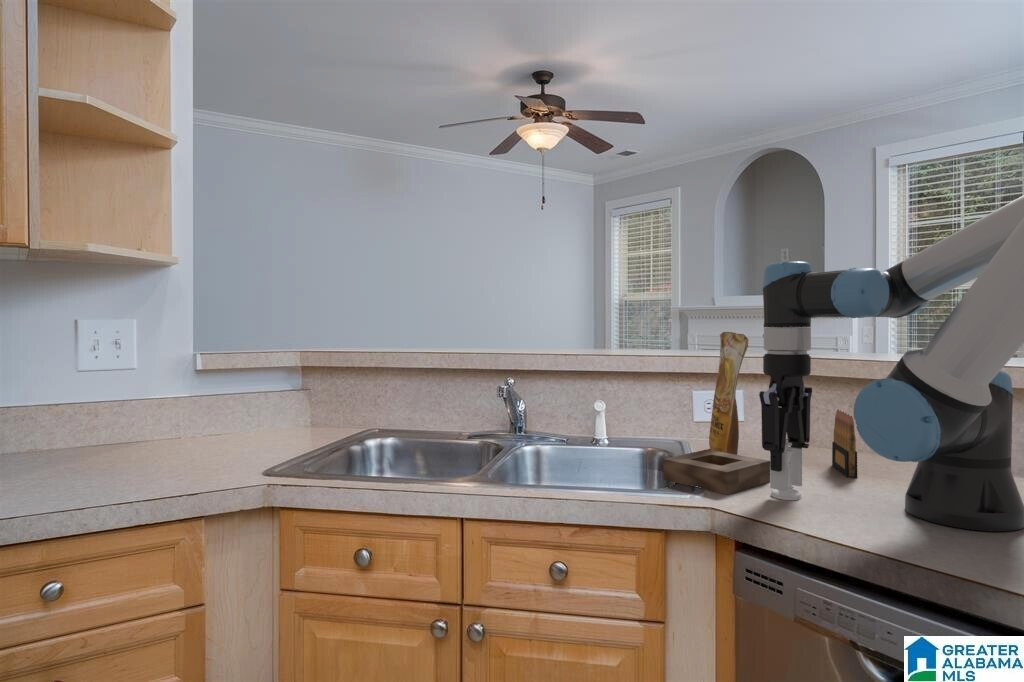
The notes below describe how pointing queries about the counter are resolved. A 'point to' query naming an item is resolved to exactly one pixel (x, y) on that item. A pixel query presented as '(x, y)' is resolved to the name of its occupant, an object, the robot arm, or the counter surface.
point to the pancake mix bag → (727, 394)
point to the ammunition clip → (844, 445)
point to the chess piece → (791, 493)
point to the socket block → (717, 471)
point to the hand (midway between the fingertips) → (786, 486)
